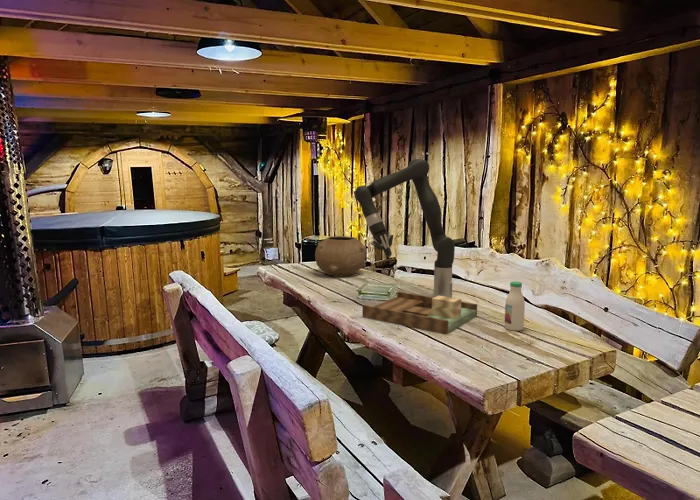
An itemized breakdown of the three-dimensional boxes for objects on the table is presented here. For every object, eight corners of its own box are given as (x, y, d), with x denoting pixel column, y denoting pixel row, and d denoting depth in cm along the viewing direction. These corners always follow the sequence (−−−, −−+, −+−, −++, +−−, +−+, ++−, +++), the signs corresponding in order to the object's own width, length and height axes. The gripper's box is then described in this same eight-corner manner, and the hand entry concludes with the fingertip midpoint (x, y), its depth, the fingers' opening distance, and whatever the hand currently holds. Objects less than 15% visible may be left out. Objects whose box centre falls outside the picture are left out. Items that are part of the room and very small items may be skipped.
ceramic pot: (308, 272, 323) (307, 236, 319) (352, 268, 337) (352, 233, 333) (326, 281, 293) (326, 241, 289) (374, 276, 307) (374, 238, 303)
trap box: (362, 316, 218) (362, 305, 217) (398, 302, 244) (398, 291, 243) (446, 334, 193) (447, 321, 192) (476, 315, 219) (477, 304, 218)
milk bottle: (523, 326, 203) (525, 281, 200) (523, 332, 195) (526, 284, 192) (504, 324, 205) (506, 279, 202) (504, 330, 198) (506, 283, 195)
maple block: (431, 314, 210) (431, 298, 209) (438, 311, 215) (438, 295, 214) (454, 319, 204) (455, 302, 203) (460, 315, 209) (461, 299, 208)
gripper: (368, 224, 226) (382, 257, 224) (389, 218, 233) (403, 249, 231) (361, 230, 233) (375, 262, 231) (382, 223, 240) (396, 254, 237)
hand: (389, 256), depth 231 cm, fingers closed
